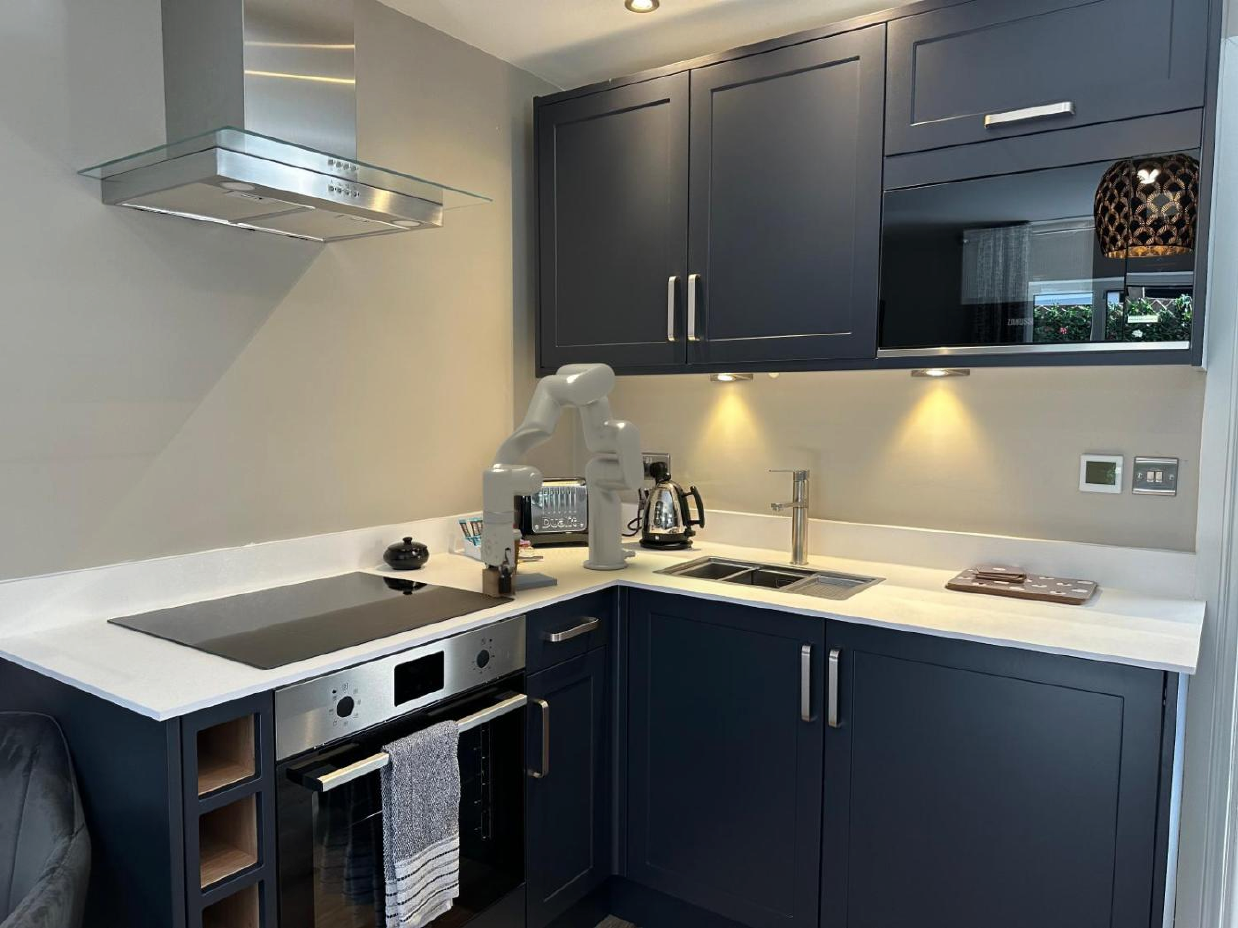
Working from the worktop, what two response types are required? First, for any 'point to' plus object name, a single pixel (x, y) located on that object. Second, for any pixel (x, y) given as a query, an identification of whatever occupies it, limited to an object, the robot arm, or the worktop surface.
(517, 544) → the disposable coffee cup
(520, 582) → the slate board
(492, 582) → the walnut cube
